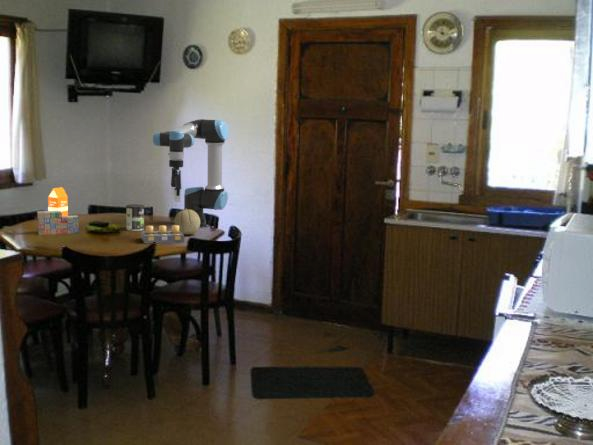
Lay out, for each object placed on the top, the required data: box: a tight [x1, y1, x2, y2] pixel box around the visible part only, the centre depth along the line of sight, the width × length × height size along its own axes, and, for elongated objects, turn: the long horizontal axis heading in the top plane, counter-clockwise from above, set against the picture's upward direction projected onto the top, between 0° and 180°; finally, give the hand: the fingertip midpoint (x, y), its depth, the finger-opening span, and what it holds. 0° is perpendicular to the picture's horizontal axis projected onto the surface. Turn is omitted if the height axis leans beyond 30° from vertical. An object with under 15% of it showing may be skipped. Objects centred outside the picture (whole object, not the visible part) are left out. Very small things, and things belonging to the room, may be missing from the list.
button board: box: [140, 230, 185, 244], centre depth 386 cm, size 21×14×4 cm
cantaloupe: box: [174, 208, 201, 236], centre depth 405 cm, size 15×15×15 cm
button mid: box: [158, 224, 167, 234], centre depth 385 cm, size 4×4×5 cm
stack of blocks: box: [36, 210, 80, 236], centre depth 395 cm, size 21×6×12 cm, turn 115°
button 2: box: [171, 224, 179, 234], centre depth 388 cm, size 4×4×5 cm
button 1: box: [145, 225, 154, 234], centre depth 383 cm, size 4×4×5 cm
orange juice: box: [47, 187, 69, 216], centre depth 434 cm, size 8×9×20 cm
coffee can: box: [125, 204, 145, 232], centre depth 415 cm, size 10×10×14 cm
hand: (175, 200), depth 385 cm, fingers open, 11 cm apart
